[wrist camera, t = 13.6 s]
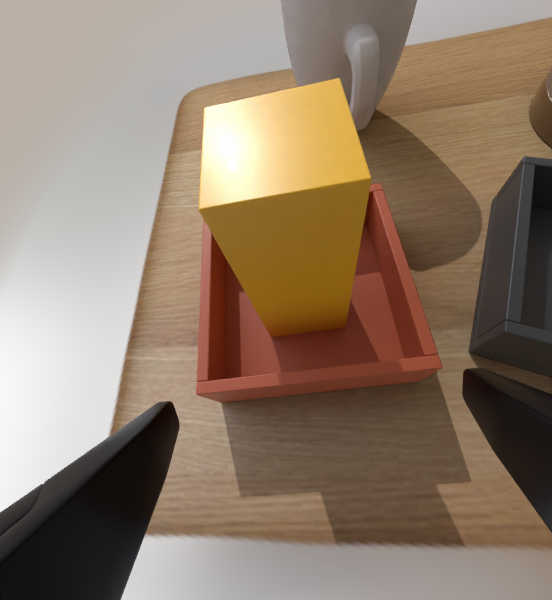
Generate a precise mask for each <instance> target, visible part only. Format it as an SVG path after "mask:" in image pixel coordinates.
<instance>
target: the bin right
mask: <svg viewBox="0 0 552 600" xmlns="http://www.w3.org/2000/svg"><path fill="white" fill-rule="evenodd" d="M469 353H472V354H476V355H479V356H482V357H486V358H489V359H492V360H496V361H499V362H502V363H506V364H509V365H512V366H516V367H519V368H522V369H526V370H529V371H533V372H536V373H539V374H543V375H546V376H549V377H552V159H544V158H535V157H526V156H525V157H523V159H522V160H521V161H520V163H519V164H518V166H517V167H516V168H515V170H514V171H513V173H512V174H511V176H510V177H509V178H508V180H507V181H506V183H505V184H504V185H503V187H502V188H501V190H500V191H499V192H498V194H497V196H496V197H495V198H494V199H493V201H492V205H491V212H490V218H489V224H488V231H487V237H486V244H485V250H484V257H483V263H482V270H481V276H480V283H479V289H478V296H477V302H476V309H475V315H474V322H473V328H472V335H471V341H470V348H469Z"/></svg>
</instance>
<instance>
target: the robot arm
mask: <svg viewBox="0 0 552 600" xmlns="http://www.w3.org/2000/svg"><path fill="white" fill-rule="evenodd" d="M462 394H463V398H464V401H465V403H466V404H467V406H468V408H469V409H470V411H471V413H472V415H473V416H474V418H475V420H476V422H477V423H478V425H479V427H480V429H481V430H482V432H483V434H484V436H485V437H486V439H487V441H488V443H489V444H490V446H491V447H492V449H493V451H494V452H495V454H496V455H497V457H498V458H499V459H500V461H501V462H502V464H503V465H504V466H505V468H506V469H507V471H508V472H509V474H510V475H511V476H512V478H513V479H514V481H515V482H516V483H517V485H518V486H519V488H520V489H521V490H522V492H523V493H524V495H525V496H526V497H527V499H528V500H529V502H530V503H531V504H532V506H533V507H534V509H535V510H536V511H537V513H538V514H539V516H540V517H541V518H542V520H543V521H544V523H545V524H546V525H547V527H548V528H549V530H550V531H551V532H552V394H549V393H546V392H544V391H541V390H538V389H536V388H533V387H531V386H528V385H525V384H523V383H520V382H517V381H515V380H512V379H509V378H507V377H504V376H502V375H499V374H496V373H494V372H491V371H488V370H486V369H483V368H470V369H466V370H465V371H464V373H463V390H462ZM178 431H179V419H178V416H177V414H176V411H175V408H174V405H173V403H172V402H170V401H166V402H159V403H157V404H155V405H154V406H153V407H151V408H150V409H148V410H147V411H145V412H144V413H143V414H141V415H140V416H138V417H137V418H135V419H134V420H133V421H131V422H130V423H128V424H127V425H125V426H124V427H123V428H121V429H120V430H118V431H117V432H115V433H114V434H113V435H111V436H110V437H108V438H107V439H105V440H104V441H103V442H101V443H100V444H98V445H97V446H95V447H94V448H93V449H91V450H90V451H88V452H87V453H86V454H84V455H83V456H81V457H80V458H78V459H77V460H75V461H74V462H73V463H71V464H70V465H68V466H67V467H65V468H64V469H63V470H61V471H60V472H58V473H57V474H55V475H54V476H53V477H51V478H50V479H48V480H47V481H45V483H44V484H41V485H40V486H39V487H37V488H35V489H34V490H32V491H31V492H30V493H28V494H27V495H25V496H24V497H22V498H21V499H19V500H18V501H17V502H15V503H14V504H12V505H11V506H9V507H8V508H6V509H5V510H3V511H2V512H0V600H121V597H122V595H123V592H124V589H125V587H126V584H127V581H128V578H129V576H130V573H131V570H132V568H133V565H134V562H135V559H136V557H137V554H138V552H139V549H140V546H141V543H142V541H143V538H144V535H145V533H146V530H147V527H148V525H149V522H150V519H151V517H152V514H153V511H154V509H155V506H156V503H157V500H158V498H159V495H160V492H161V490H162V487H163V484H164V481H165V479H166V476H167V472H168V469H169V465H170V461H171V458H172V454H173V450H174V446H175V443H176V439H177V435H178Z"/></svg>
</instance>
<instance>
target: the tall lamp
mask: <svg viewBox="0 0 552 600" xmlns="http://www.w3.org/2000/svg"><path fill="white" fill-rule="evenodd" d="M529 115H530V120H531V123H532V126H533V127H534V129H535V131H536V132H537V134H538V135H539V136H540V137H541V138H542V139H543V140H544V141H545V142H546V143H547V144H548V145H549V146H551V147H552V68H551V70H550V72H549V73H548V75H547V76H546V78H545V80H544V81H543V83H542V85H541V86H540V88H539V90H538V91H537V93H536V94H535V96H534V98H533V99H532V102H531V105H530V111H529Z"/></svg>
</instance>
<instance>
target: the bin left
mask: <svg viewBox="0 0 552 600" xmlns="http://www.w3.org/2000/svg"><path fill="white" fill-rule="evenodd" d="M437 354H438V353H437V350H436V347H435V344H434V341H433V338H432V335H431V332H430V329H429V326H428V323H427V320H426V317H425V314H424V311H423V308H422V305H421V302H420V299H419V296H418V293H417V290H416V287H415V284H414V281H413V278H412V275H411V272H410V269H409V266H408V263H407V260H406V257H405V254H404V251H403V248H402V245H401V242H400V239H399V236H398V233H397V230H396V227H395V224H394V221H393V218H392V215H391V212H390V209H389V206H388V203H387V200H386V197H385V194H384V191H383V188H382V185H381V183H377V184H371V185H370V191H369V197H368V202H367V208H366V214H365V219H364V225H363V231H362V237H361V242H360V248H359V254H358V259H357V265H356V271H355V277H354V282H353V288H352V294H351V299H350V305H349V311H348V317H347V322H346V328H340V329H332V330H324V331H316V332H308V333H300V334H293V335H285V336H277V337H271V336H270V335H269V333H268V331H267V329H266V327H265V326H264V324H263V322H262V320H261V319H260V317H259V315H258V313H257V312H256V310H255V308H254V306H253V305H252V303H251V301H250V299H249V298H248V296H247V294H246V292H245V291H244V289H243V287H242V285H241V284H240V282H239V280H238V278H237V277H236V275H235V273H234V271H233V270H232V268H231V266H230V264H229V263H228V261H227V259H226V257H225V256H224V254H223V252H222V250H221V249H220V247H219V245H218V243H217V242H216V240H215V238H214V236H213V235H212V233H211V231H210V229H209V228H208V226H207V224H206V222H205V221H204V222H203V245H202V270H201V294H200V318H199V342H198V367H197V388H196V395H199V396H202V397H205V398H209V399H212V400H215V401H218V402H231V401H240V400H250V399H259V398H269V397H278V396H288V395H297V394H307V393H317V392H326V391H336V390H345V389H355V388H364V387H374V386H383V385H393V384H402V383H412V382H419V381H421V380H422V379H424V378H426V377H428V376H429V375H431V374H433V373H434V372H436V371H438V370H440V369H441V368H442V364H441V361H440V358H439V356H438V355H437Z"/></svg>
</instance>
